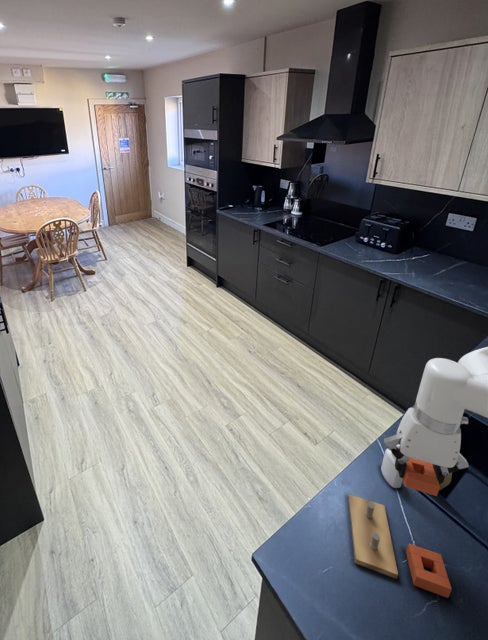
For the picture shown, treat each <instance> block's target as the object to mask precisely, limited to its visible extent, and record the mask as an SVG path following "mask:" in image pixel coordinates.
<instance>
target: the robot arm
mask: <svg viewBox="0 0 488 640" xmlns="http://www.w3.org/2000/svg"><path fill="white" fill-rule="evenodd" d="M465 410H466V411H469V412H472V413H474V414H476V415H479V416H482V417H484V418H487V419H488V346H486V347H482V348H481V347H480V348H477V349H475V350H472V351H470V352H468V353H466V354H464V355H463V356H462V357H460V358H459V360H458V361H457V362H456V361H454V360H452V359H449V358H444V357H435V358H431V359H429V360H428V361H427V362H426V364H425V367H424V369H423V373H422V376H421V379H420V383H419V388H418V392H417V395H416V398H415V402H414V405H413V407H409V408H408V409H407V410H406V412H405V413H404V415H403V416H402V418H401V420H400V422H399V425H398V427H397V430H396V434H393V435H391V436H388V437H385V438H383V443H384V446H385V447H386V449H389V450H390V451H391V452H392V454H393V455H394V456H395V457H396V461H395V469H396V470H398V473H399V477H400V478H404V475H405V471H406V468H407V465H406V462H407V461H408V460H409V459H410V458H413V459H417V460H420V461H424V462H428V463H431V464H434V465H433V469H434V471H435V474H436V477H437V480H438V482H439V485H441V483H443V481H444V478H445V476H449V473H452V474H453V473H456V472H458V471H459V470H463V469H466V468H467V469H468V468H469V467H470V465H469V462H468V461H467V459H466V457H464V456H463V454H461V453H460V450H461V445H462V444H461V443H462V441H461V440H462V429H461V425H468V424H469V418H468V417H467V416H464V413H465ZM397 444H399V445H400V446H399V447H398V448H397V447H396V445H397Z"/></svg>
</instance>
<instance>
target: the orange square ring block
mask: <svg viewBox="0 0 488 640" xmlns="http://www.w3.org/2000/svg"><path fill="white" fill-rule="evenodd" d="M405 553H406V558H407V563H408V567H409V571H410V574H411V575H410V576H411V579H412V585H413V586H415V587H417V588H419V589H422V590H426V591H428V592H430V593H433V594H436V595H439V596H441V597H444V598H447V599H449V597H450V595H451V592H452V586H451V583H450V580H449V579H450V578H449V577H448V573H447V570H446V567H445V563H444V560H443V557H442V554H441V553H438V552H436V551H432V550H429V549H426V548H423V547H421V546H418V545H415V544H412V543H408V544H407V547H406V551H405ZM425 568H426V569H429V570H430V571H429V570H426V569H425Z"/></svg>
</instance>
